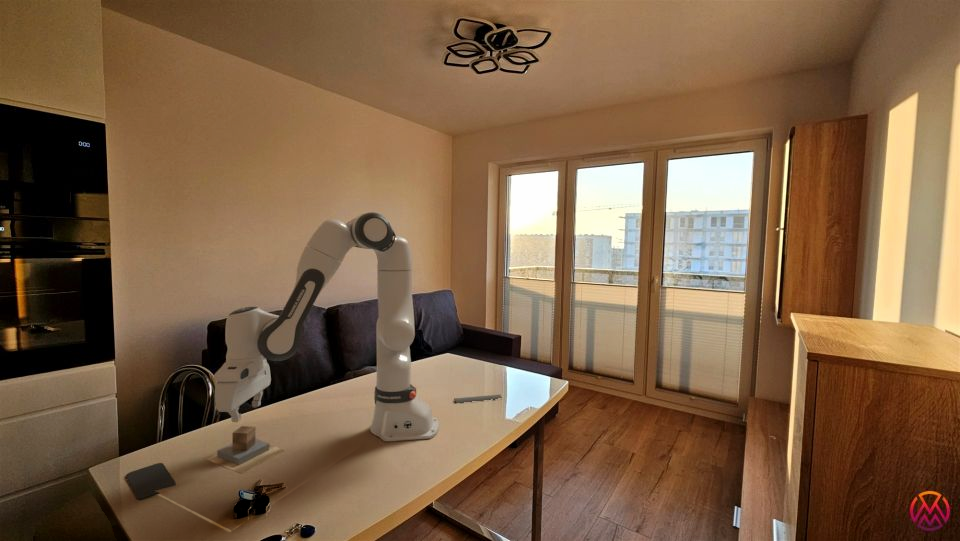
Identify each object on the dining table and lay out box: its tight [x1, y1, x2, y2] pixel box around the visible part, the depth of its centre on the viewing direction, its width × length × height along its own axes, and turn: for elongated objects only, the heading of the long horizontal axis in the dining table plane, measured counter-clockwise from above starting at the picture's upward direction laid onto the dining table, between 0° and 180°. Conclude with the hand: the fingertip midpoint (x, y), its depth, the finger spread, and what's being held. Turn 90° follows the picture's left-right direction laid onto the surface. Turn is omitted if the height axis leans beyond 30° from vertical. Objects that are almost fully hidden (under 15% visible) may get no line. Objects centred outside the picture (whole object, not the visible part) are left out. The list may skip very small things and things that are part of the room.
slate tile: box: [216, 438, 270, 465], centre depth 107 cm, size 2×9×9 cm
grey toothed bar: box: [453, 393, 503, 404], centre depth 153 cm, size 4×20×2 cm, turn 108°
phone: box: [125, 462, 177, 501], centre depth 94 cm, size 7×1×15 cm
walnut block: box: [231, 425, 257, 451], centre depth 107 cm, size 4×4×5 cm
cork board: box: [205, 444, 286, 475], centre depth 107 cm, size 15×13×1 cm
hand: (246, 413), depth 107 cm, fingers open, 8 cm apart
